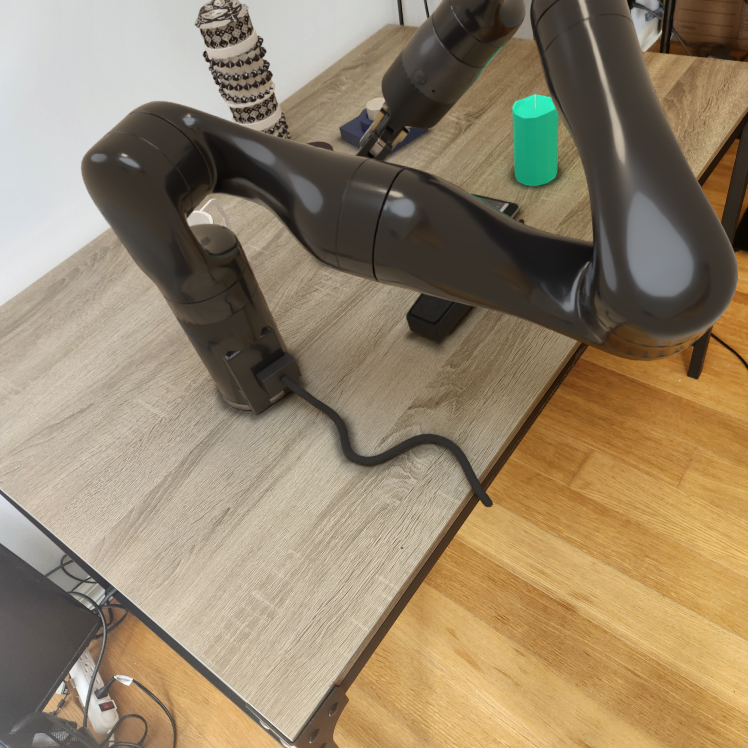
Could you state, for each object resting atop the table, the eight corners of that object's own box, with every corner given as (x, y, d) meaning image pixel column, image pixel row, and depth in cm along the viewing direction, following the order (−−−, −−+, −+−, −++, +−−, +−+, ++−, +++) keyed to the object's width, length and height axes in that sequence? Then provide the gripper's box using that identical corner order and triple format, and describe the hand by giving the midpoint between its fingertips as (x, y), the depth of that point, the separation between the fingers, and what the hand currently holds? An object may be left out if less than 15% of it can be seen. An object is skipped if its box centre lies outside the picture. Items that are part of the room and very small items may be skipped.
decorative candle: (292, 172, 107) (238, 13, 88) (240, 177, 109) (177, 22, 90) (304, 142, 112) (256, -14, 93) (254, 147, 114) (198, -5, 96)
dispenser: (428, 130, 107) (424, 108, 104) (381, 159, 104) (376, 137, 101) (386, 112, 113) (382, 90, 110) (342, 139, 110) (336, 117, 107)
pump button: (397, 113, 105) (395, 101, 104) (378, 124, 104) (376, 112, 103) (382, 106, 108) (379, 94, 106) (363, 117, 106) (360, 105, 105)
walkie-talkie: (392, 317, 77) (484, 209, 84) (428, 352, 78) (516, 243, 85) (414, 305, 72) (510, 191, 78) (452, 344, 73) (544, 228, 79)
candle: (565, 175, 92) (568, 94, 83) (528, 191, 91) (526, 111, 82) (543, 156, 96) (543, 77, 87) (507, 171, 95) (503, 93, 86)
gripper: (441, 133, 63) (359, 221, 75) (481, 61, 70) (401, 152, 83) (380, 80, 61) (307, 179, 74) (428, 12, 68) (354, 112, 81)
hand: (357, 165), depth 78 cm, fingers open, 8 cm apart
